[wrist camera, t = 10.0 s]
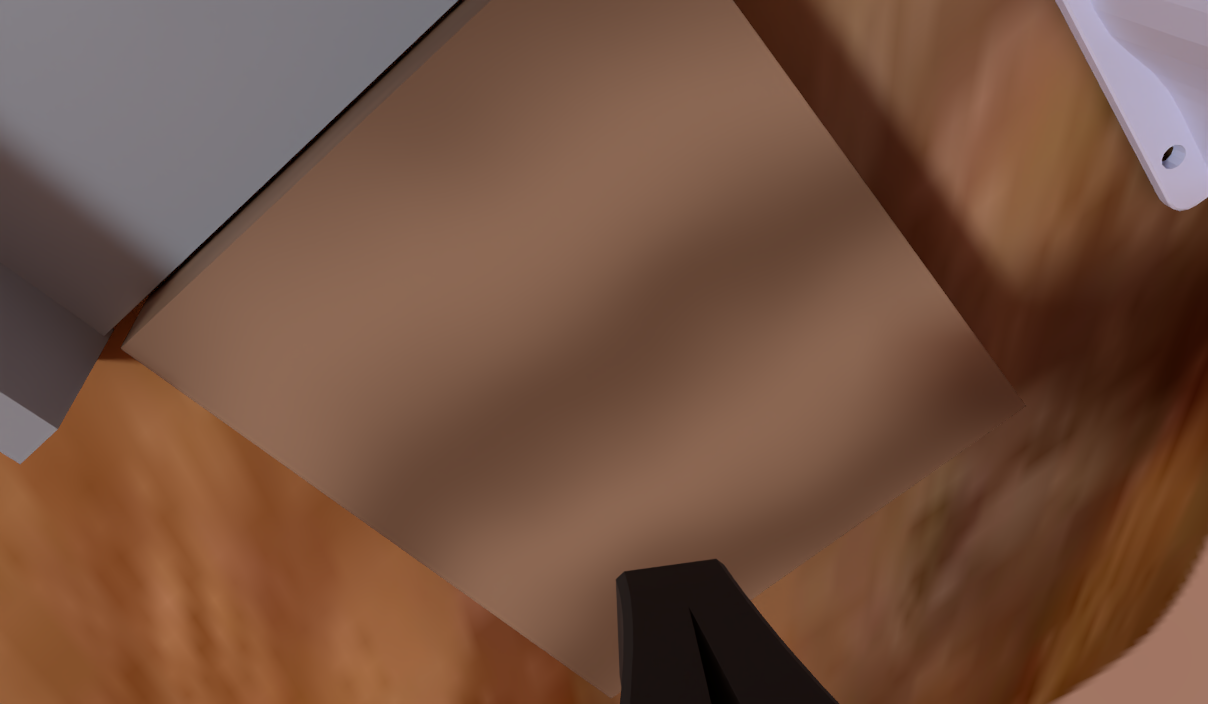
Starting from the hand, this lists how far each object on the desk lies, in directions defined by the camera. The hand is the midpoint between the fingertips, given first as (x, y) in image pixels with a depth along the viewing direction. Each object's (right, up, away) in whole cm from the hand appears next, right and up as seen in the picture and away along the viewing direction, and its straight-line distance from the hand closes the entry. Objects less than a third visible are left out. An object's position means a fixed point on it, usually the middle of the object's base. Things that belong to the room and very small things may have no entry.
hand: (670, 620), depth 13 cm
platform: (-1, +4, +8) cm, 9 cm away
